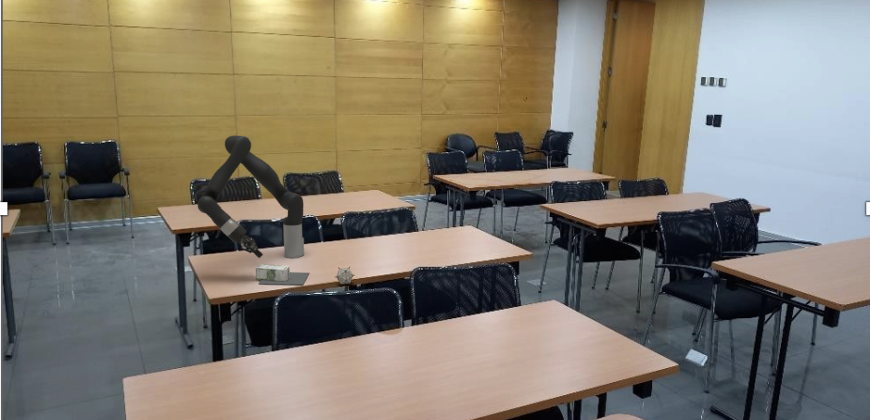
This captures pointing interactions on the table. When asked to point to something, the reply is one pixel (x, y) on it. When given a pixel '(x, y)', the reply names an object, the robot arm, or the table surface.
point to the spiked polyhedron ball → (344, 276)
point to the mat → (294, 279)
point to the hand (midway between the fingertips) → (261, 256)
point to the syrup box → (272, 272)
